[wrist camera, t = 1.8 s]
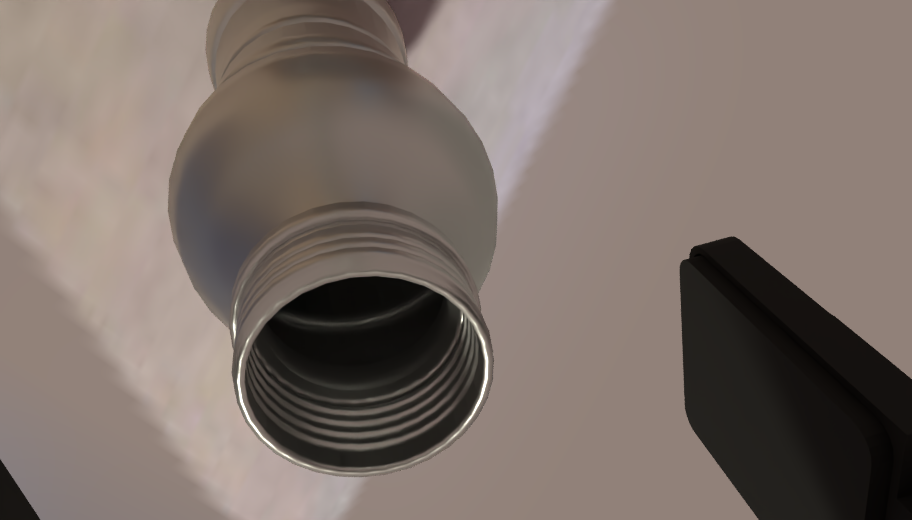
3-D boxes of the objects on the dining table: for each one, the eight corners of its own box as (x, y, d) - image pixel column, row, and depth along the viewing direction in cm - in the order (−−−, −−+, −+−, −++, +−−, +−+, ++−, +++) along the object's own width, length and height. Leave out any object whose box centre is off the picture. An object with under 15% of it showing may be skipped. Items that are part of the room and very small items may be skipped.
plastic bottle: (308, -100, 25) (388, 33, 8) (431, 55, 29) (670, 377, 12) (169, 28, 26) (-15, 382, 9) (305, 163, 30) (353, 605, 13)
